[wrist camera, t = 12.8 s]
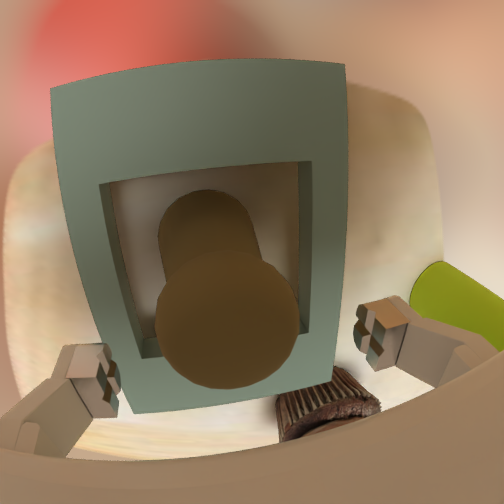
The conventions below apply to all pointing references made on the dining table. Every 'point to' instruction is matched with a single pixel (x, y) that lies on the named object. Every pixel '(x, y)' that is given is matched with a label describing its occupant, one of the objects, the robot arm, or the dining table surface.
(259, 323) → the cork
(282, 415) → the cupcake
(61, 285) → the dining table surface
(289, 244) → the dining table surface
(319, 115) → the grey-green slotted stand
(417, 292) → the soap dispenser
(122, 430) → the dining table surface
